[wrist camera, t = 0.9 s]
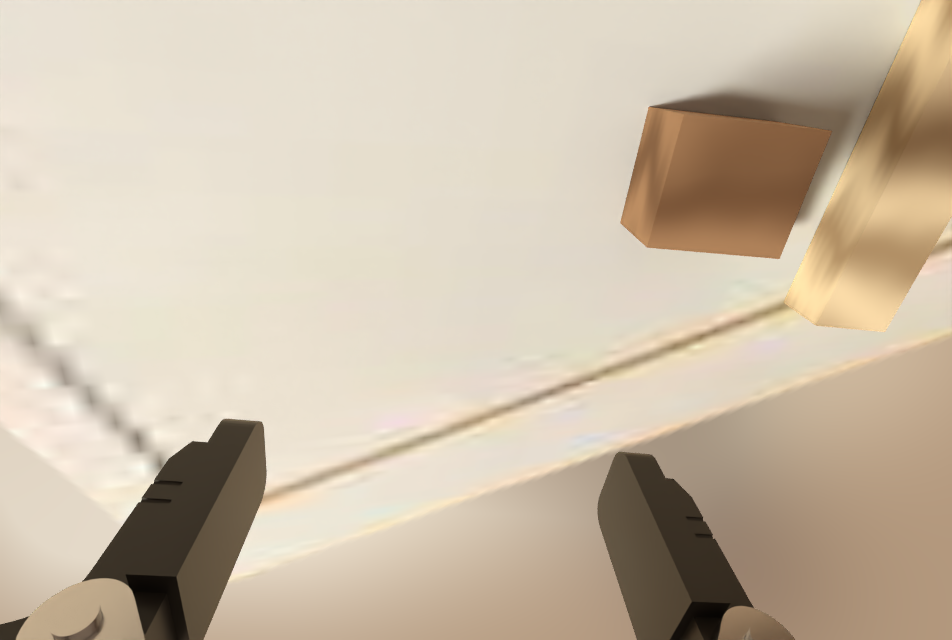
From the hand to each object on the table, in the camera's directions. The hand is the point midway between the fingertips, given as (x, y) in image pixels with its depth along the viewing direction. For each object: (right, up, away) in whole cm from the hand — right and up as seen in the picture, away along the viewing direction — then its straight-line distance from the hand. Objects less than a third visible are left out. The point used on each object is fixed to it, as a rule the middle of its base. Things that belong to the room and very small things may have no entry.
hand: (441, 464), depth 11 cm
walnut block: (+15, +13, +20) cm, 27 cm away
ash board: (+27, +15, +19) cm, 36 cm away
